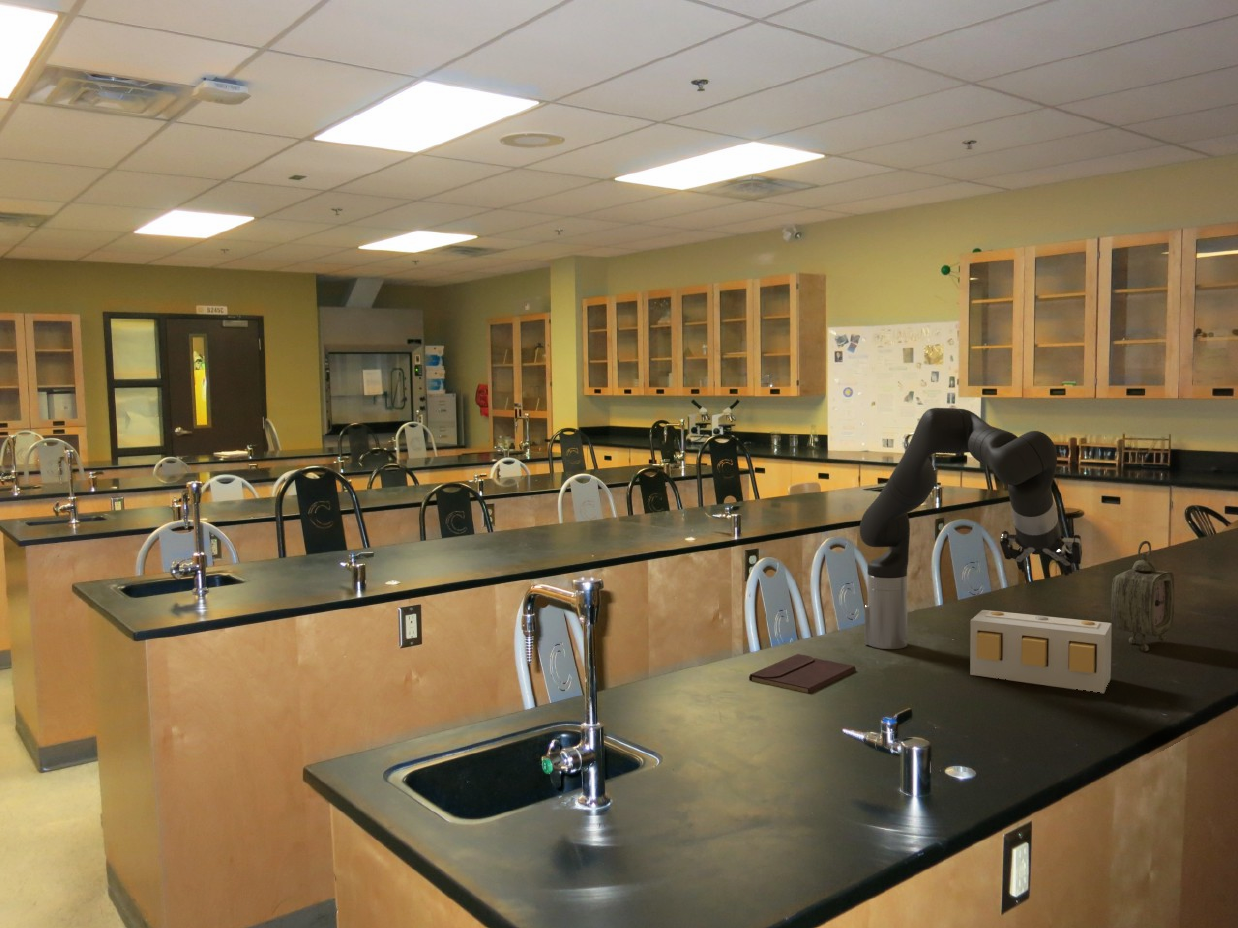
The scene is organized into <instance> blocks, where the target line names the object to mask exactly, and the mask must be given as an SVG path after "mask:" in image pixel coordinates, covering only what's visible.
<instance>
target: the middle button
mask: <svg viewBox="0 0 1238 928" xmlns="http://www.w3.org/2000/svg"><path fill="white" fill-rule="evenodd" d="M1022 664H1025V665H1033V666H1041V667H1045V666H1046V664H1047V639H1044V638H1036V637H1027V636H1025V637H1024V638H1023V639H1022Z"/></svg>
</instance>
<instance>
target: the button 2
mask: <svg viewBox="0 0 1238 928" xmlns="http://www.w3.org/2000/svg"><path fill="white" fill-rule="evenodd" d="M1069 670H1071V671H1079V672H1087V673H1093V672H1094V671H1095V644H1088V643H1079V642H1071V643H1070V645H1069Z"/></svg>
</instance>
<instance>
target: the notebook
mask: <svg viewBox="0 0 1238 928" xmlns="http://www.w3.org/2000/svg"><path fill="white" fill-rule="evenodd" d="M856 670H857V669H856V666H855V665H851V664H847V663H841V662H836V661H832V660H825V659H820V658H815V657H813V656H810V655H806V654H800V653H797V654H794V655H792V656H789V657H787V658H785V659H782V660H780V661H778V662H776V663H774V664H771V665H769V666H767V667H764V668H762V669H759V670H758V671H755V672H752V673H750V674H749V676H748V680H749V681H752V682H756V683H760V684H765V685H771V686H774V687H779V688H783V689H789V690H792V691H797V692H801V693H806V694H812V693H815V692H817V691H818V690H820V689H823V688H824V687H827V686H828V685H830V684H833V683H835V682H837V681H838V680H840V679H842V678H844V677H846V676H848V675H850V674H852V673H854V672H856Z"/></svg>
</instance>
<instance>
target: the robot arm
mask: <svg viewBox="0 0 1238 928" xmlns="http://www.w3.org/2000/svg"><path fill="white" fill-rule="evenodd" d="M965 453H970V455H971V456H972V457H973V459H975V460H976V461H978V462H979V463H981V464H982V465H985V466H987V467H990V468H991V470H992V471H993V473H994V475H995V476H996V477H997V479H998V480H999V481H1000V482H1001V483H1002V484H1004V485H1006V486H1007V491H1008V497H1009V500H1010V501H1009V502H1010V505H1011V506H1010V507H1011V508H1010V509H1011V521H1012V522H1013V525H1014V530H1015V534H1010V532H1009V531H1007V530H1003V531H1001V536H1000V539H999V540H1000V543H999V544H1000V546H1001V549H1002V550H1001V551H1002V554H1003V557H1004V559H1005V560H1012V559H1013V560H1014V561H1015V562H1016V565H1017V569H1018V570H1019V571H1021V573H1025V574H1026V573H1027V570H1028V560H1027V558H1028V557H1029V556H1030V555H1031V554H1032V555H1034V556H1035V555H1043V556H1050V557H1051V558H1052V559H1054V560H1055V561H1056V562H1057V561H1059V562H1060V563H1061V564H1062V569H1063V573H1064V576H1065V577H1066V576H1067V577H1069V576H1070V574H1073V570H1074V564H1075V565H1081V563H1082V555H1083V548H1082V547H1083V546H1082V537H1081V535H1079V534H1075V535H1074V534H1073V537H1065V536H1064V535H1063V534H1062V531H1061V526H1060V520H1059V516H1058V509H1057V504H1056V502H1055V500H1054V496H1053V491H1052V485H1053V482H1054V477H1055V474H1056V469H1057V465H1058V453H1057V448H1056V445H1055V443H1054V441H1053V440H1052V438H1050V436H1048V435H1047V434H1046V433H1044V432H1041V431H1040V430H1032V431H1031V430H1030V431H1028V432H1025V433H1024V434H1021V435H1020V436H1018V435H1016V434H1014V433H1012V432H1010V431H1007V430H1004V429H1001V428H998V427H996V426H992V425H990V424H988V423H987V422H986V421H985V420H983V419H982V418H981V417H980V416H979V415H977V414H976V413H974V412H972V411H971V410H969V409H964V408H957V407H956V408H955V407H954V408H952V407H932V408H929V409H927V410H925V412H924V413H923V414H921V417H920V419H919V421H918V423H917V425H916V426H915V430H914V431H913V434H912V437H911V439H910V441H909V443H908V446H907V448H906V450H905V451H904V454H903V455H902V457H901V459H900V460H899V462H898V464H897V465H896V466H895V467H894V469H893V471H892V473H891V475H890V476H889V478H888V479H887V481H886V484H885V485H884V487H883V488H882V490H881V492H880V493H879V494H878V496H877V497H876V498H875V500H874V501H873V502H872V503H871V504H870V506H869V507H868V508H867V509H866V510H865V511H864V513H863V514H862V517H861V520H860V523H859V536H860V539H861V541H862V543H864V544H865V545H866V546H868V547H870V548H871V547H872V548H888V550H887V551H886V552H885V553H884V554H882V555H881V556H879V557H877V558H874V559H872V560H871V561H869V562H868V564H867V604H866V605H865V606H864V645H865V646H870V647H873V648H875V649H882V650H898V649H900V650H901V649H903V648H906V647H907V646H908V567H909V559H910V558H909V553H910V551H909V550H910V537H911V523H910V517H909V515H908V513H910V512H912V511H914V510H916V509H918V508H919V507H920V506H921V505H922V504H924V502H925V501H926V500H927V499H928V497H929V496H930V495H931V493H932V491H934V488H935V487H936V483H937V473H936V470H935V468H934V465H933V463H932V461H931V460H930V458H929V457H931V456H932V455H935V454H955V455H956V454H965ZM1013 543H1016V544H1017V545H1018V546H1019V547H1017V549H1016V548H1014V547H1013ZM1066 546H1067V548H1068V549H1067V548H1066Z"/></svg>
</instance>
